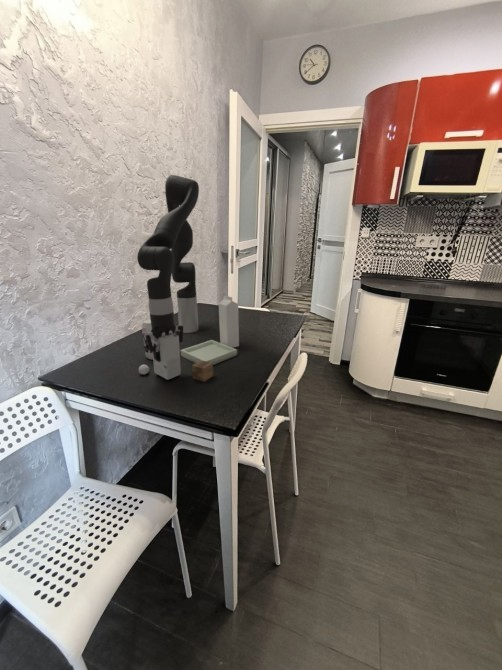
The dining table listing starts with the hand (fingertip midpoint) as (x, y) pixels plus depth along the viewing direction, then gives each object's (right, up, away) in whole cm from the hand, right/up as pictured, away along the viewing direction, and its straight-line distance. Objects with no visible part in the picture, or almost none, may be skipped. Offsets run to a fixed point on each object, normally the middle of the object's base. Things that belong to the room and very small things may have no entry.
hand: (166, 357), depth 104 cm
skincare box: (0, -6, +2) cm, 6 cm away
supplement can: (-9, -1, +19) cm, 21 cm away
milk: (+19, +3, +29) cm, 35 cm away
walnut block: (+12, -7, +2) cm, 14 cm away
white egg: (-9, -4, +3) cm, 11 cm away
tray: (+12, -1, +19) cm, 22 cm away
